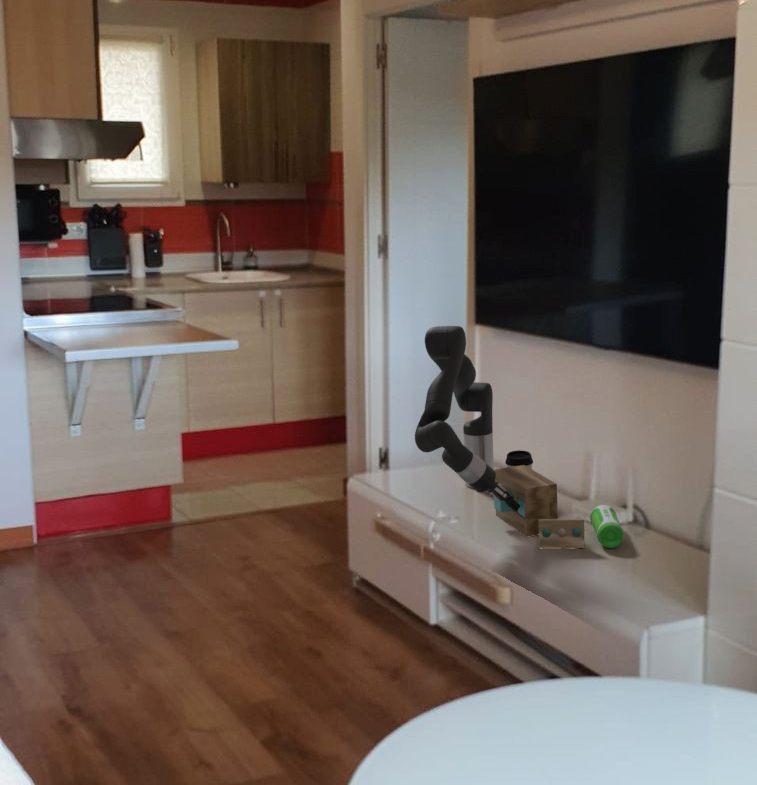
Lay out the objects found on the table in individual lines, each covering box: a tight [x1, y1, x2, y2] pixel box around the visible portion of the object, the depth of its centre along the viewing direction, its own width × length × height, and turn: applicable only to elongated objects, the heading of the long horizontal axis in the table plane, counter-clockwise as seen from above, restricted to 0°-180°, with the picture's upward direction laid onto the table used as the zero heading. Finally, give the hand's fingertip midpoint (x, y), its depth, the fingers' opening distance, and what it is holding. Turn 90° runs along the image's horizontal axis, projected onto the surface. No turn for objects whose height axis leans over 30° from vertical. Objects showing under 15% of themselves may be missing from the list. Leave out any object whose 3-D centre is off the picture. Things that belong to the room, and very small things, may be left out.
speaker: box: [589, 504, 625, 549], centre depth 319 cm, size 18×7×8 cm, turn 177°
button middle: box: [493, 491, 514, 512], centre depth 331 cm, size 6×4×4 cm
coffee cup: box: [504, 449, 534, 470], centre depth 353 cm, size 8×8×15 cm
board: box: [538, 518, 586, 550], centre depth 315 cm, size 5×12×8 cm, turn 83°
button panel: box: [494, 465, 559, 537], centre depth 333 cm, size 10×21×14 cm, turn 18°
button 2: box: [518, 498, 525, 517], centre depth 326 cm, size 6×4×4 cm
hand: (517, 508), depth 325 cm, fingers closed
